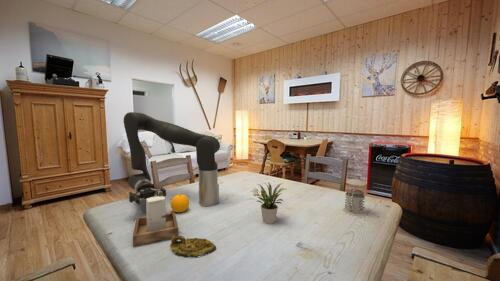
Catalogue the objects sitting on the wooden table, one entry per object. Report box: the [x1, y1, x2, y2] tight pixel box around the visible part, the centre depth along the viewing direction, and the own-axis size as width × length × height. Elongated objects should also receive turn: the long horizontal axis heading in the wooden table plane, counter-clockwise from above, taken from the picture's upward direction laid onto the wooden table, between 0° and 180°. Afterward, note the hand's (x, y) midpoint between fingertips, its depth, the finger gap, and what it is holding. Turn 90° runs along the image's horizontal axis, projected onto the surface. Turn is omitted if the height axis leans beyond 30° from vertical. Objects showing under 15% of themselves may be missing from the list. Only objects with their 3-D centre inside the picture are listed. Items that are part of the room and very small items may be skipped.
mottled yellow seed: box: [169, 235, 217, 258], centre depth 68 cm, size 9×5×15 cm
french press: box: [342, 158, 367, 218], centre depth 95 cm, size 10×12×25 cm
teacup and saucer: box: [250, 187, 262, 198], centre depth 117 cm, size 9×8×4 cm
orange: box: [170, 193, 190, 213], centre depth 96 cm, size 8×8×8 cm
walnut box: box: [132, 211, 179, 248], centre depth 77 cm, size 14×14×4 cm
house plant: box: [255, 181, 286, 225], centre depth 87 cm, size 14×14×16 cm
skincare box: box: [145, 196, 167, 232], centre depth 77 cm, size 6×4×12 cm
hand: (150, 199), depth 85 cm, fingers open, 8 cm apart
